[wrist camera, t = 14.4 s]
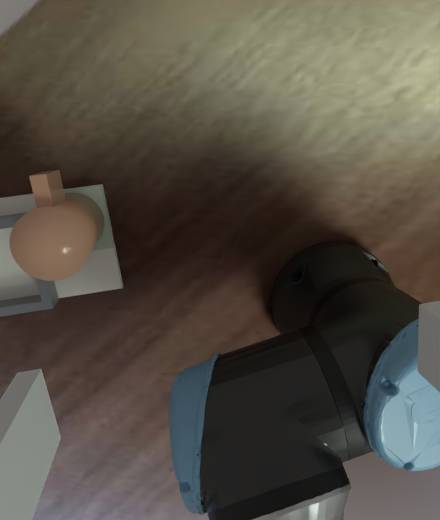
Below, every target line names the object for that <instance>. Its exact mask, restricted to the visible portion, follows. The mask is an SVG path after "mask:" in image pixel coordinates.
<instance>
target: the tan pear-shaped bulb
mask: <svg viewBox="0 0 440 520" xmlns="http://www.w3.org/2000/svg"><path fill="white" fill-rule="evenodd" d="M29 178H30V182H31V186H32V190H33V194H34V199H35V203H36V207H37V208H35V209H34V210H32V211H30V212H28V213H27V214H25V215H23V216H22V217H21V218H20V219H19V220H18V221H17V222H16V223H15V225H14V226H13V228H12V231H11V234H10V241H9V242H10V250H11V253H12V256H13V258H14V260H15V261H16V263H17V264H18V265H19V267H20V268H21V269H22V270H24V271H25V272H26V273H28V274H29V275H31V276H33V277H35V278H38V279H41V280H46V281H58V280H62V279H65V278H68V277H70V276H72V275H73V274H75V273H76V272H77V271H78V270H79V269H80V268H81V266H82V265H83V263H84V262H85V260H86V259H87V257H88V256H89V254H90V253H91V251H92V250H93V248H94V247H95V245H96V244H97V242H98V241H99V239H100V238H101V236H102V234H103V231H104V226H105V222H104V216H103V213H102V211H101V209H100V207H99V206H98V205H97V204H96V203H95V202H94V201H93V200H92V199H91V198H89V197H87V196H85V195H83V194H79V193H64V190H63V185H62V180H61V175H60V171H59V170H53V171H44V172H41V173H37V174H34V175H31V176H29Z"/></svg>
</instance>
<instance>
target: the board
mask: <svg viewBox="0 0 440 520" xmlns="http://www.w3.org/2000/svg"><path fill="white" fill-rule="evenodd" d="M63 190H64V193H79V194H83V195H85V196H87V197H89V198H91V199H92V200H93V201H94V202H95V203H96V204H97V205H98V206H99V207H100V209H101V211H102V213H103V216H104V222H105V226H104V231H103V234H102V236H101V238H100V239H99V241H98V242H97V244H96V245H95V247H94V248H93V250H92V251H91V253H90V254H89V256H88V257H87V259H86V260H85V262H84V263H83V265H82V266H81V268H80V269H79V270H78V271H77V272H76V273H75V274H73V275H72V276H70V277H68V278H65V279H62V280H58V281H54V282H55V286H56V290H57V294H58V298H63V297H70V296H76V295H83V294H89V293H95V292H102V291H108V290H115V289H121V288H123V281H122V276H121V271H120V267H119V262H118V257H117V252H116V247H115V242H114V237H113V232H112V227H111V222H110V218H109V213H108V208H107V203H106V198H105V193H104V188H103V184H99V185H92V186H84V187H77V188H69V189H63ZM35 208H37V207H36V203H35V199H34V194H33V193H32V194H25V195H17V196H10V197H3V198H0V216H4V215H11V214H18V213H25V212H30V211H32V210H34V209H35ZM12 228H13V227H11V228H4V229H0V301H1V300H7V299H14V298H20V297H27V296H33V295H40V293H39V289H38V286H37V282H36V278H35V277H33V276H31V275H29V274H28V273H26V272H25V271H24V270H22V269H21V268H20V267H19V265H18V264H17V263H16V261H15V260H14V258H13V256H12V253H11V250H10V242H9V241H10V234H11V231H12Z"/></svg>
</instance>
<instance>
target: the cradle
mask: <svg viewBox="0 0 440 520" xmlns="http://www.w3.org/2000/svg"><path fill="white" fill-rule="evenodd" d="M27 213H28V212H25V213H18V214H11V215H4V216H0V229H4V228H11V227H13V226H14V225H15V223H16V222H17V221H18V220H19V219H20V218H21V217H22V216H23V215H25V214H27ZM36 282H37V286H38V289H39V293H40V295H33V296H27V297H20V298H14V299H7V300H1V301H0V317H2V316H8V315H15V314H21V313H27V312H34V311H40V310H46V309H53V308H54V307H55V305H56V304H57V302H58V301H59V298H58V294H57V290H56V286H55V282H54V281H46V280H41V279H38V278H36Z"/></svg>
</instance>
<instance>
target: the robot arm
mask: <svg viewBox="0 0 440 520" xmlns="http://www.w3.org/2000/svg"><path fill="white" fill-rule="evenodd" d="M271 311H272V316H273V319H274V322H275V324H276V326H277V328H278V330H279V332H280V333H281V335H279V336H276V337H273V338H270V339H267V340H264V341H261V342H258V343H255V344H252V345H249V346H246V347H243V348H240V349H237V350H234V351H231V352H228V353H225V354H221V353H220V354H216V355H214V356H213V357H212V358H211V359H208V360H206V361H203V362H201V363H198V364H196V365H194V366H191V367H189V368H186V369H184V370H183V371H182V372H181V373H180V374H179V375H178V376H177V377H176V379H175V381H174V383H173V386H172V390H171V395H170V405H169V427H170V440H171V449H172V457H173V463H174V469H175V474H176V477H177V480H178V481H179V486H180V493H181V496H182V499H183V502H184V504H185V506H186V508H187V509H188V510H189V511H190V512H192V513H198V514H200V515H202V514H204V513H206V512H207V513H208V517H209V520H344V510H345V507H346V504H347V501H348V498H349V495H350V492H351V489H352V487H351V484H350V482H349V479H348V477H347V474H346V472H345V469H344V467H343V462H345V461H348V460H350V459H353V458H356V457H359V456H362V455H365V454H367V453H370V452H373V451H374V452H375V454H376V455H378V456H379V458H382V459H383V460H384V461H386V462H387V463H389V464H390V465H392V466H394V467H397V468H401V467H404V468H405V469H406V470H408V471H421V470H426V469H431V468H434V467H437V466H439V465H440V301H436V302H430V303H425V304H422V303H421V302H419V301H417V300H416V299H414V298H413V297H411V296H409V295H408V294H406V293H404V292H403V291H401V290H399V289H398V288H396V287H395V285H394V283H393V281H392V279H391V277H390V275H389V273H388V272H387V270H386V268H385V267H384V266H383V264H382V263H381V262H380V261H379V260H378V259H377V258H376V257H375V256H374V255H372V254H371V253H369V252H367V251H366V250H364V249H362V248H360V247H358V246H356V245H353V244H350V243H346V242H339V241H332V242H324V243H320V244H316V245H313V246H311V247H309V248H307V249H305V250H303V251H301V252H300V253H298V254H297V255H296V256H294V257H293V258H292V259H291V260H290V261H289V262H288V263H287V264H286V265H285V267H284V268H283V269H282V271H281V272H280V274H279V276H278V278H277V279H276V282H275V284H274V287H273V291H272V296H271ZM60 439H61V436H60V433H59V429H58V426H57V422H56V419H55V415H54V412H53V408H52V405H51V401H50V398H49V394H48V391H47V387H46V384H45V380H44V377H43V373H42V370H41V369H37V370H31V371H25V372H19V373H17V374H16V376H15V377H14V379H13V380H12V382H11V383H10V385H9V387H8V388H7V390H6V391H5V393H4V394H3V396H2V398H1V399H0V520H32V519H33V516H34V513H35V510H36V507H37V504H38V502H39V499H40V496H41V493H42V490H43V487H44V485H45V482H46V479H47V476H48V473H49V470H50V468H51V465H52V462H53V459H54V456H55V453H56V450H57V448H58V445H59V442H60Z"/></svg>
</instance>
